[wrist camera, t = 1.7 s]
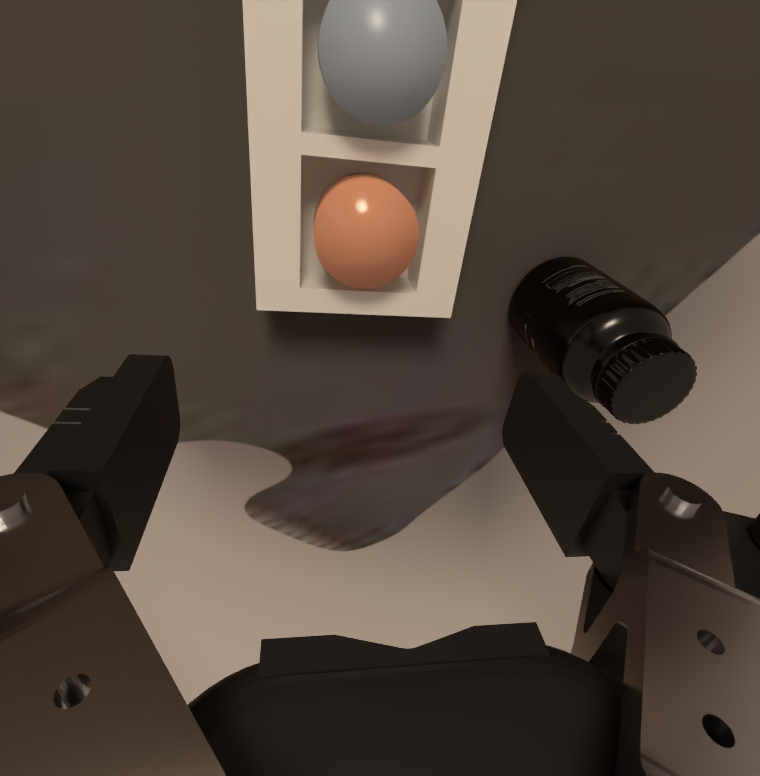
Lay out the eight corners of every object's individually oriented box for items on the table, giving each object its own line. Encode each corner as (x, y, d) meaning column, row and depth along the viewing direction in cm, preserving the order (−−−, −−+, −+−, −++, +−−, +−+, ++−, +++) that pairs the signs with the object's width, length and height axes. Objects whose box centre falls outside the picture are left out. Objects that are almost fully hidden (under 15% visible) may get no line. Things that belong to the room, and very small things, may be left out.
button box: (235, -423, 16) (217, -554, 13) (549, -325, 18) (604, -416, 15) (261, 285, 30) (256, 310, 27) (435, 293, 32) (450, 318, 29)
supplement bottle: (492, 330, 35) (567, 430, 25) (533, 243, 31) (639, 318, 21) (567, 347, 36) (665, 446, 27) (614, 266, 33) (745, 345, 23)
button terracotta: (314, 167, 24) (315, 175, 22) (416, 177, 25) (426, 186, 23) (311, 269, 27) (312, 286, 25) (403, 275, 28) (411, 291, 26)
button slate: (319, -34, 20) (321, -48, 18) (442, -13, 21) (458, -23, 19) (315, 115, 23) (316, 118, 21) (423, 127, 24) (435, 132, 22)
